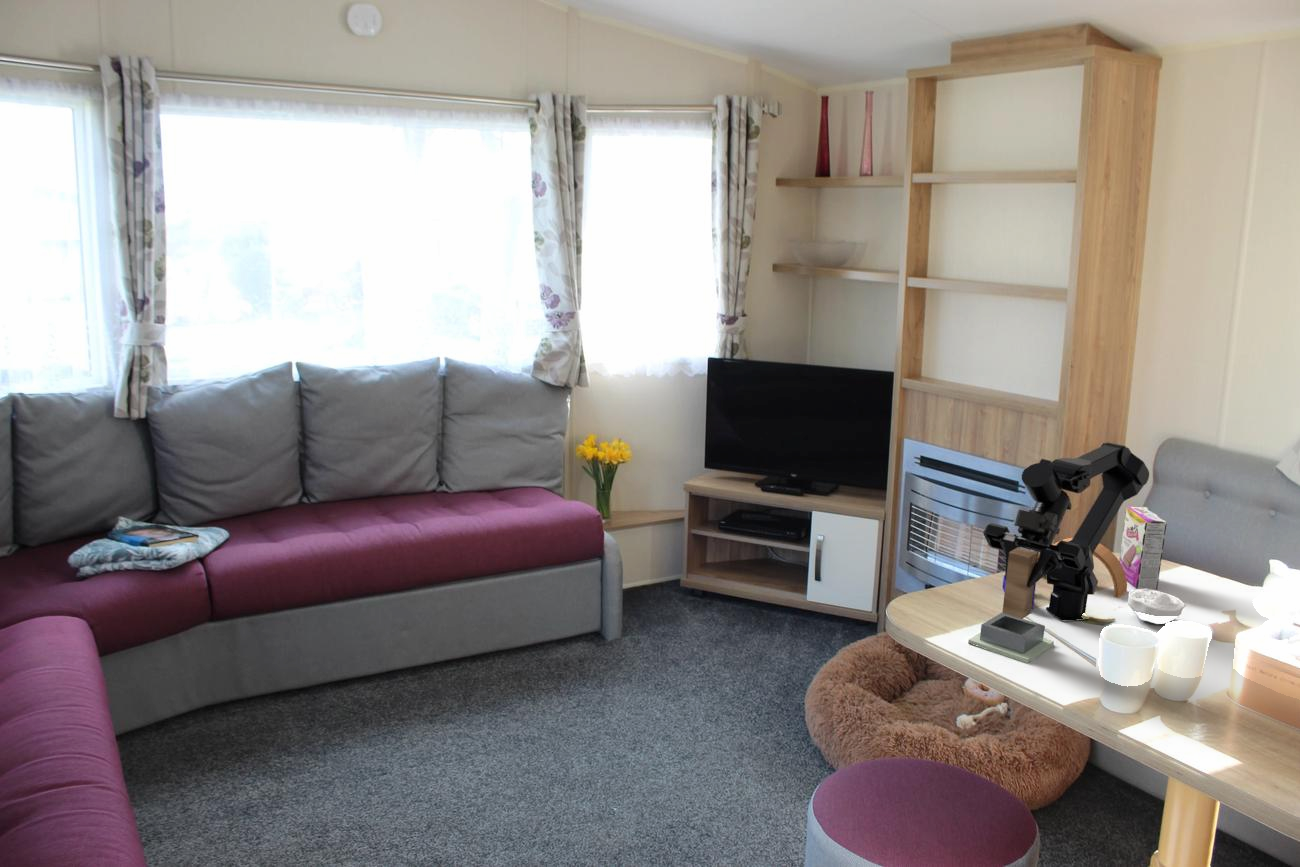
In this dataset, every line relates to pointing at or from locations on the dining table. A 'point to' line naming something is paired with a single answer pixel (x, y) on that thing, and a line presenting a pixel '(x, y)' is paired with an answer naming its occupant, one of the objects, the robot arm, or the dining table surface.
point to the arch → (1109, 567)
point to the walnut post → (1019, 583)
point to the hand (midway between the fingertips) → (1017, 583)
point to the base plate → (1012, 654)
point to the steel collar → (1012, 633)
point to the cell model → (1155, 603)
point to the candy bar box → (1142, 547)
